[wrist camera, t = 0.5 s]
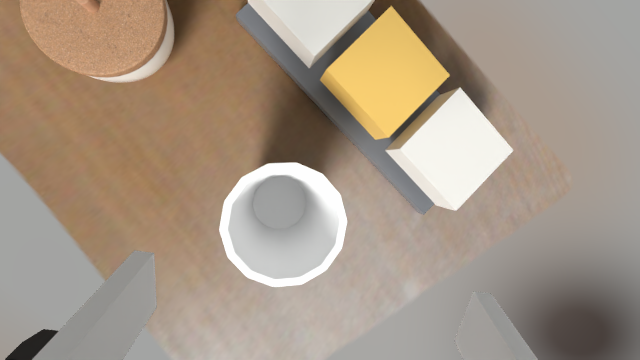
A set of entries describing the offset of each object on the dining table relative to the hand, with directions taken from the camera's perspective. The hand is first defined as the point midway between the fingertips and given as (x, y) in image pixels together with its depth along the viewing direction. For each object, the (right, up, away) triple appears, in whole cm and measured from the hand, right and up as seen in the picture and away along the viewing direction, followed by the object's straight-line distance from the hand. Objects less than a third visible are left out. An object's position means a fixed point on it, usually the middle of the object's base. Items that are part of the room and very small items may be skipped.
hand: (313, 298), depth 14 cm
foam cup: (-4, +2, +24) cm, 24 cm away
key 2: (-1, +22, +19) cm, 29 cm away
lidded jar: (-19, +19, +21) cm, 34 cm away
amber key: (+6, +15, +21) cm, 27 cm away
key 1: (+13, +8, +22) cm, 27 cm away
